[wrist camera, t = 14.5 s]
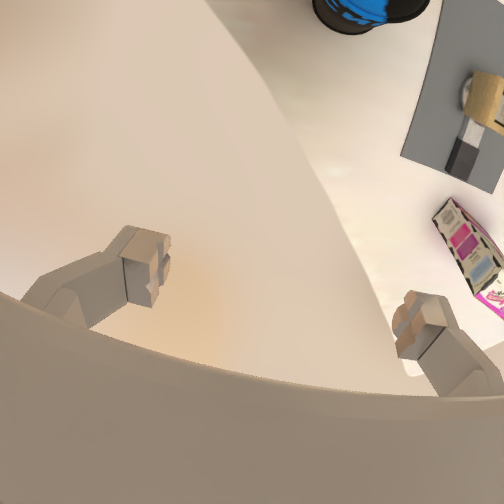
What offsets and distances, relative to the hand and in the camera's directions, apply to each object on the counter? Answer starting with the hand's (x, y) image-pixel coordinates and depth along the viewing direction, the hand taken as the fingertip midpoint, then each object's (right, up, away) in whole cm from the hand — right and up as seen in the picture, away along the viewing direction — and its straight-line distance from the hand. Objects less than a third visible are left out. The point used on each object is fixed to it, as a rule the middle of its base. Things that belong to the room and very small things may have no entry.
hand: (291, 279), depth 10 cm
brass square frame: (+28, +19, +17) cm, 38 cm away
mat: (+29, +22, +18) cm, 40 cm away
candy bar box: (+31, +5, +30) cm, 44 cm away
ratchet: (+28, +18, +21) cm, 39 cm away
